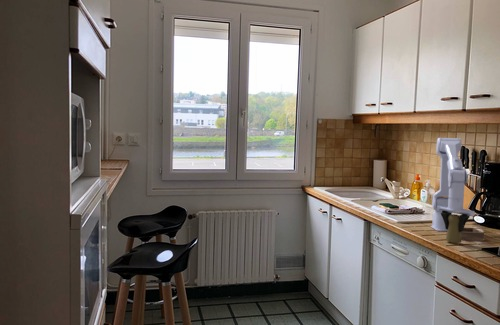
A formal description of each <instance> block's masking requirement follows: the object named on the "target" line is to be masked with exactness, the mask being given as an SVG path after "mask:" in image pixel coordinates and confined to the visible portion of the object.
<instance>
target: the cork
mask: <svg viewBox="0 0 500 325" xmlns="http://www.w3.org/2000/svg"><path fill="white" fill-rule="evenodd" d="M459 215H460V214H456V213H452V215H449V216H448V221H449V226H448V231H446V238H445V241H446V242H449V243H450V242H451V243H461V242H462V240H461V232H459V225H460V222H459Z"/></svg>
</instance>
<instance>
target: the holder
mask: <svg viewBox="0 0 500 325" xmlns="http://www.w3.org/2000/svg"><path fill="white" fill-rule="evenodd" d="M484 239H485V232H483V231H481V230H479V229H478V228H474V227H464V229H463V232H461V241H475V242H484V241H485V240H484Z"/></svg>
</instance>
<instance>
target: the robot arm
mask: <svg viewBox="0 0 500 325" xmlns="http://www.w3.org/2000/svg"><path fill="white" fill-rule="evenodd" d="M435 147H436V155H438V156H439V157H440V169H439V170H440V173H439V174H440V175H439V189H438V190H437V191H436V192H434V193H433V195H432V199H431V206H432V208H431V209H432V210H434V211H433V213H432V223H431V224H432V225H430V226H429V227H430V228H432V229H433V230H435V231H438V232H447V231H448V226H449V221H448V216H449V215H452V214H455V215H459V222H460V225H459V232H463V229H464V228H465V225H466V224H467V222H468V220H469V218H470V217H475V210H470V209H465V208H464V203H465V202H464V201H465V200H464V199H465V184H467V180H468V174H467V173H468V172H467V170H466V168H463V167H464V166H463V161H462V160H461V159H460V157H459V153H460V151H461V150H462V139H461V138H460V137H458V138H457V137H454V138H452V137H438V138H437V139H436V146H435Z"/></svg>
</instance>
